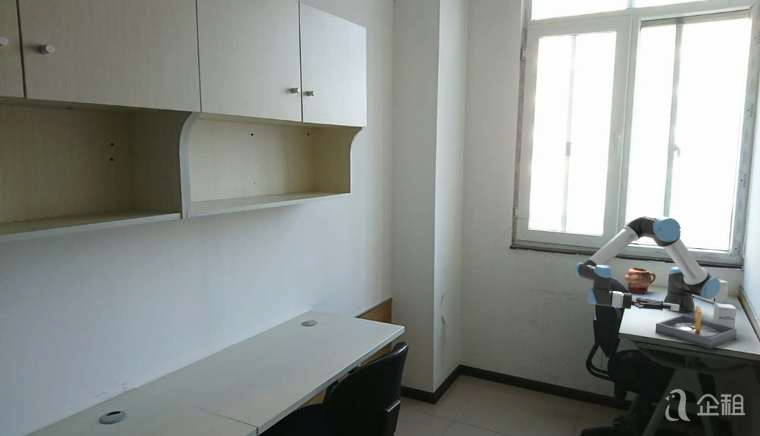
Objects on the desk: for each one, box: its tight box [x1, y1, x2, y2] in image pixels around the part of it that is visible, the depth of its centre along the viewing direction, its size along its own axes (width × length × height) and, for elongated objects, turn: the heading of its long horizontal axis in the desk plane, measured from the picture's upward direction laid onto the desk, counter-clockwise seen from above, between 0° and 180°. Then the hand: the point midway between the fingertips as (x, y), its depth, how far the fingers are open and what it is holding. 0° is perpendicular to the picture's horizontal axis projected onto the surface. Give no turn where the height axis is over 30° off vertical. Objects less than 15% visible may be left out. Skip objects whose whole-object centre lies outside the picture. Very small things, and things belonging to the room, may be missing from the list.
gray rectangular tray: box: [654, 314, 738, 349], centre depth 238 cm, size 24×24×4 cm
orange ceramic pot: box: [624, 267, 657, 294], centre depth 313 cm, size 20×12×14 cm, turn 104°
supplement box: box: [712, 303, 737, 328], centre depth 244 cm, size 7×7×13 cm
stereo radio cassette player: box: [692, 278, 729, 305], centre depth 296 cm, size 21×8×20 cm, turn 13°
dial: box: [674, 305, 717, 338], centre depth 237 cm, size 18×17×12 cm
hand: (679, 307), depth 235 cm, fingers closed
